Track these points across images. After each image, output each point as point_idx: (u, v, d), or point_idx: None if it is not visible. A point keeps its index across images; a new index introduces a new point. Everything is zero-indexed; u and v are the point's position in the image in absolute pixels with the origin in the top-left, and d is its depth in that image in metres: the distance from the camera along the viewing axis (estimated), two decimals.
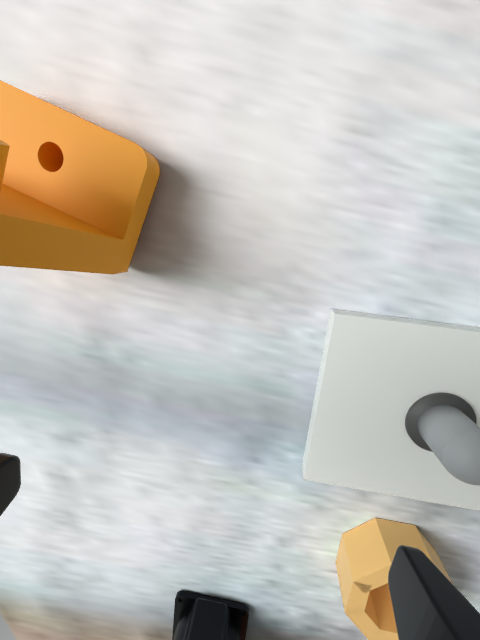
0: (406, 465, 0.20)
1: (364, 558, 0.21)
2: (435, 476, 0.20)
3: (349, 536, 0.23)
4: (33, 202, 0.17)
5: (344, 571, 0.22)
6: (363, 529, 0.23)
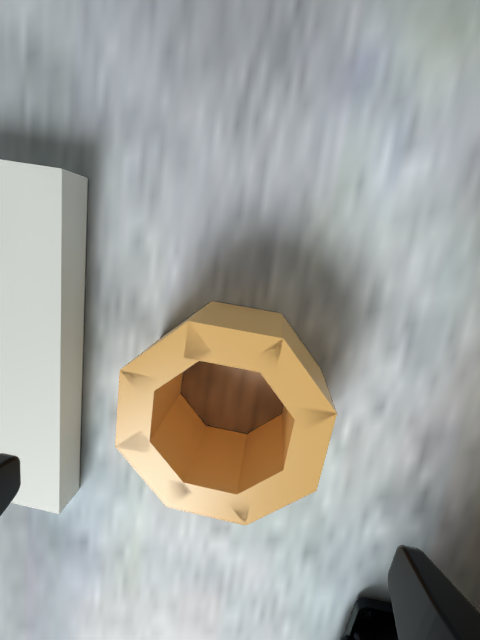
0: (5, 381, 0.13)
1: None
2: (13, 339, 0.12)
3: None
4: None
5: None
6: None
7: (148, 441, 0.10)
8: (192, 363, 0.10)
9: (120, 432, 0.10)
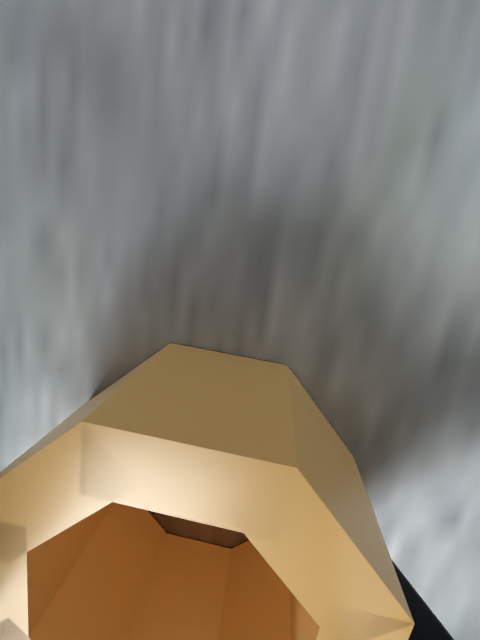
0: None
1: None
2: None
3: None
4: None
5: None
6: None
7: (27, 636, 0.05)
8: (98, 507, 0.04)
9: None
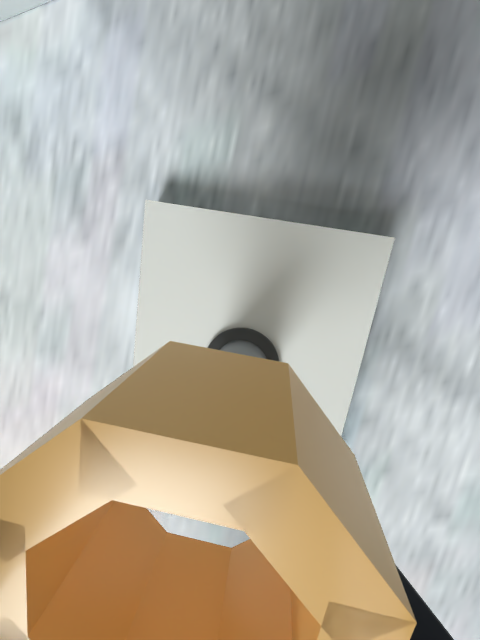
0: None
1: None
2: (319, 363, 0.16)
3: None
4: None
5: None
6: None
7: (25, 637, 0.05)
8: (97, 505, 0.04)
9: None
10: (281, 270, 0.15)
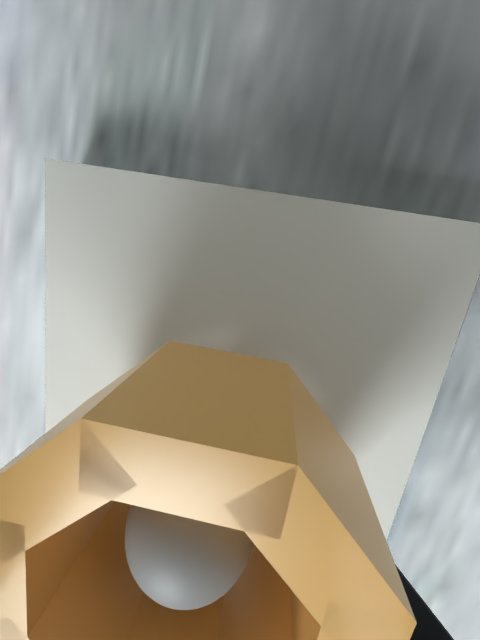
0: None
1: None
2: (348, 440, 0.09)
3: None
4: None
5: None
6: None
7: (25, 637, 0.05)
8: (97, 505, 0.04)
9: None
10: (285, 284, 0.08)
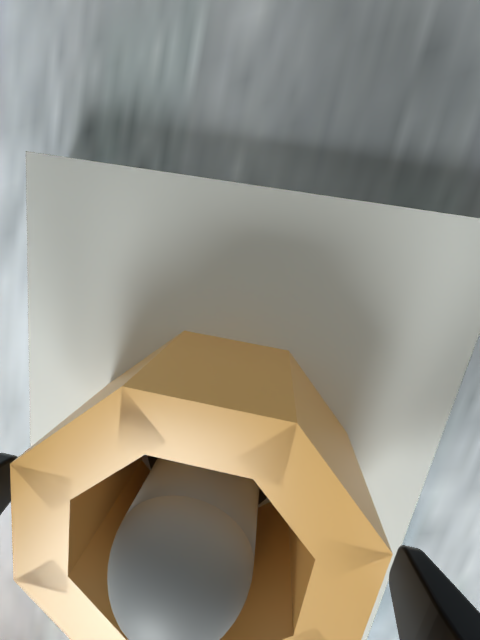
0: None
1: None
2: None
3: None
4: None
5: None
6: None
7: (66, 576, 0.06)
8: (132, 459, 0.05)
9: (20, 560, 0.06)
10: (287, 288, 0.08)
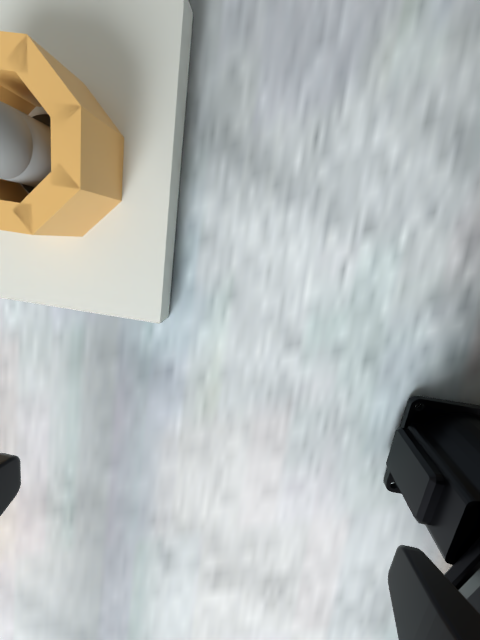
0: None
1: None
2: (131, 154, 0.15)
3: None
4: None
5: None
6: None
7: None
8: None
9: None
10: (76, 41, 0.14)
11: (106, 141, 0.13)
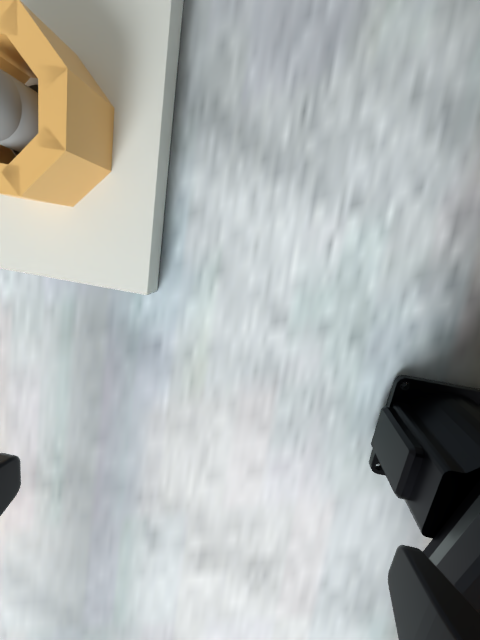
0: None
1: None
2: (121, 124, 0.15)
3: None
4: None
5: (16, 196, 0.15)
6: None
7: None
8: None
9: None
10: (70, 13, 0.14)
11: (94, 108, 0.14)
